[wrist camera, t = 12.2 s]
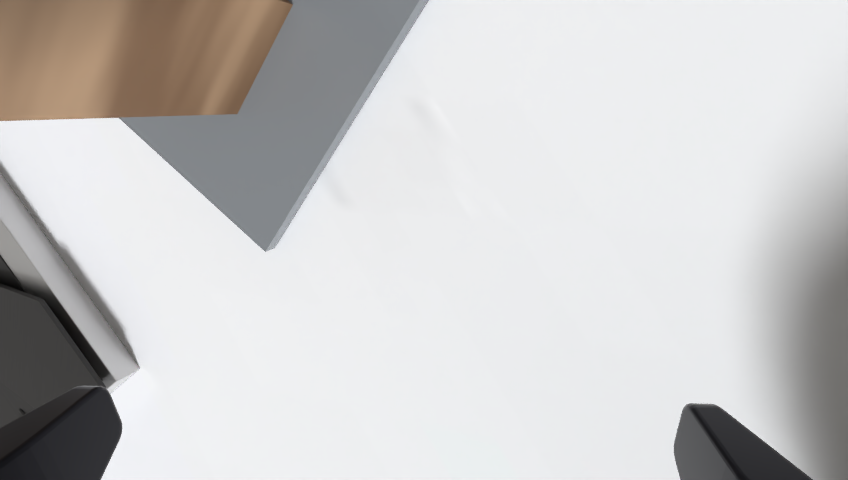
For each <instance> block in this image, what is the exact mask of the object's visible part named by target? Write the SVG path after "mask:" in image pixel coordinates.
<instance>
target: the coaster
mask: <svg viewBox="0 0 848 480" xmlns="http://www.w3.org/2000/svg"><path fill="white" fill-rule="evenodd" d="M288 1H289V2H290V3H292V4H293V6H292V8H291V10H290V12H289V13H288V15H287V17H286V19H285V21H284V23H283V25H282V27H281V29H280V31H279V33H278V35H277V37H276V39H275V41H274V43H273V45H272V47H271V49H270V51H269V53H268V55H267V57H266V59H265V61H264V63H263V65H262V67H261V69H260V71H259V73H258V75H257V76H256V78H255V80H254V82H253V84H252V86H251V88H250V90H249V92H248V94H247V96H246V98H245V100H244V102H243V104H242V106H241V108H240V110H239V112H238V114H225V115H190V116H155V117H119V118H120V119H121V120H122V121H123V122H124V123H125V124H126V125H127V126H128V127H129V128H131V129H132V130H133V131H134V132H135V133H136V134H137V135H138V136H139V137H140V138H141V139H143V140H144V141H145V142H146V143H147V144H148V145H149V146H150V147H151V148H152V149H154V150H155V151H156V152H157V153H158V154H159V155H160V156H161V157H162V158H163V159H164V160H166V161H167V162H168V163H169V164H170V165H171V166H172V167H173V168H174V169H175V170H176V171H178V172H179V173H180V174H181V175H182V176H183V177H184V178H185V179H186V180H187V181H188V182H190V183H191V184H192V185H193V186H194V187H195V188H196V189H197V190H198V191H199V192H201V193H202V194H203V195H204V196H205V197H206V198H207V199H208V200H209V201H210V202H211V203H213V204H214V205H215V206H216V207H217V208H218V209H219V210H220V211H221V212H222V213H223V214H225V215H226V216H227V217H228V218H229V219H230V220H231V221H232V222H233V223H234V224H236V225H237V226H238V227H239V228H240V229H241V230H242V231H243V232H244V233H245V234H246V235H248V236H249V237H250V238H251V239H252V240H253V241H254V242H255V243H256V244H257V245H258V246H260V247H261V248H262V249H263V250H264V251H265V252H266V251H268V250H271V249H273V248H275V246H276V245H277V243H278V242H279V240H280V238H281V237H282V235H283V234H284V232H285V230H286V229H287V227H288V226H289V224H290V222H291V221H292V219H293V217H294V216H295V214H296V213H297V211H298V209H299V208H300V206H301V205H302V203H303V201H304V200H305V198H306V197H307V195H308V193H309V192H310V190H311V189H312V187H313V185H314V184H315V182H316V180H317V179H318V177H319V176H320V174H321V172H322V171H323V169H324V168H325V166H326V164H327V163H328V161H329V160H330V158H331V156H332V155H333V153H334V151H335V150H336V148H337V147H338V145H339V143H340V142H341V140H342V139H343V137H344V135H345V134H346V132H347V131H348V129H349V127H350V126H351V124H352V123H353V121H354V119H355V118H356V116H357V114H358V113H359V111H360V110H361V108H362V106H363V105H364V103H365V102H366V100H367V98H368V97H369V95H370V94H371V92H372V90H373V89H374V87H375V85H376V84H377V82H378V81H379V79H380V77H381V76H382V74H383V73H384V71H385V69H386V68H387V66H388V65H389V63H390V61H391V60H392V58H393V57H394V55H395V53H396V52H397V50H398V48H399V47H400V45H401V44H402V42H403V40H404V39H405V37H406V36H407V34H408V32H409V31H410V29H411V28H412V26H413V24H414V23H415V21H416V19H417V18H418V16H419V15H420V13H421V11H422V10H423V8H424V7H425V5H426V3H427V2H428V0H288Z"/></svg>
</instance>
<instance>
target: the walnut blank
mask: <svg viewBox="0 0 848 480" xmlns="http://www.w3.org/2000/svg"><path fill="white" fill-rule="evenodd" d="M292 6H293V4H292V3H290V2H289V1H288V0H0V121H14V120H49V119H84V118H119V117H155V116H190V115H225V114H238V112H239V110H240V108H241V106H242V104H243V102H244V100H245V98H246V96H247V94H248V92H249V90H250V88H251V86H252V84H253V82H254V80H255V78H256V76H257V75H258V73H259V71H260V69H261V67H262V65H263V63H264V61H265V59H266V57H267V55H268V53H269V51H270V49H271V47H272V45H273V43H274V41H275V39H276V37H277V35H278V33H279V31H280V29H281V27H282V25H283V23H284V21H285V19H286V17H287V15H288V13H289V12H290V10H291V8H292Z"/></svg>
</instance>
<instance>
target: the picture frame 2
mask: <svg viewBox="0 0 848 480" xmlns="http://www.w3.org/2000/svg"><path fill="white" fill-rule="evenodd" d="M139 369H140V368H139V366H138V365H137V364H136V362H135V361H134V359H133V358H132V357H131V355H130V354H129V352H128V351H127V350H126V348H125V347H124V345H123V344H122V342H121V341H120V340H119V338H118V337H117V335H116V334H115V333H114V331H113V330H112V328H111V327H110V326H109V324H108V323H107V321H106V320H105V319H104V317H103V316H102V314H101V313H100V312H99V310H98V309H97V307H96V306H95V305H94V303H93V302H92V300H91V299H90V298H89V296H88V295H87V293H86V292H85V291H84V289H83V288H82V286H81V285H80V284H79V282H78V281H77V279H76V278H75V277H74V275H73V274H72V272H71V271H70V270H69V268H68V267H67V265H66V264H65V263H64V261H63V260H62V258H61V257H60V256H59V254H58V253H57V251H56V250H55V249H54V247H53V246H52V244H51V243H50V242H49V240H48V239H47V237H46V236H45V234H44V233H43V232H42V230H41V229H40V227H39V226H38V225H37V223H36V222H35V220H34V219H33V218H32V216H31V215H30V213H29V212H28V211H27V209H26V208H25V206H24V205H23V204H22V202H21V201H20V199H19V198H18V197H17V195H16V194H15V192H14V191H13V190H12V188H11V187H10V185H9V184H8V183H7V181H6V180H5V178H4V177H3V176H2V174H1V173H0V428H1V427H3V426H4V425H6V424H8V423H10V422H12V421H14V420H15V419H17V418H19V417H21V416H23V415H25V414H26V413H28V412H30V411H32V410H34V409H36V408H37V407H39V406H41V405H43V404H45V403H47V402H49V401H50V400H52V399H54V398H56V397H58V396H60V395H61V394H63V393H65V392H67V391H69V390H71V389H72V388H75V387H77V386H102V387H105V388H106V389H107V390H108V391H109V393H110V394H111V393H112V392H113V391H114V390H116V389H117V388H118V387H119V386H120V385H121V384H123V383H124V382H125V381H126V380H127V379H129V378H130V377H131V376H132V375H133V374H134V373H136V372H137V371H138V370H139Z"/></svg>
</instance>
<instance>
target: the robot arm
mask: <svg viewBox="0 0 848 480" xmlns="http://www.w3.org/2000/svg"><path fill="white" fill-rule="evenodd" d="M121 433H122V422H121V419H120V417H119V414H118V412H117V409H116V407H115V405H114V402H113V400H112V397H111V395H110V393H109V391H108V390H107V389H106V388H105V387H102V386H77V387H75V388H72V389H71V390H69V391H67V392H65V393H63V394H61V395H60V396H58V397H56V398H54V399H52V400H50V401H49V402H47V403H45V404H43V405H41V406H39V407H37V408H36V409H34V410H32V411H30V412H28V413H26V414H25V415H23V416H21V417H19V418H17V419H15V420H14V421H12V422H10V423H8V424H6V425H4V426H3V427H1V428H0V480H101V478H102V476H103V474H104V472H105V469H106V467H107V465H108V463H109V461H110V459H111V457H112V454H113V452H114V450H115V448H116V446H117V444H118V442H119V439H120V437H121ZM674 455H675V461H676V465H677V468H678V472H679V476H680V480H813V479H811V478H810V477H809V476H807V475H806V474H805V473H804V472H802V471H801V470H800V469H798V468H797V467H796V466H795V465H793V464H792V463H791V462H790V461H788V460H787V459H786V458H784V457H783V456H782V455H781V454H779V453H778V452H777V451H775V450H774V449H773V448H772V447H770V446H769V445H768V444H767V443H765V442H764V441H763V440H761V439H760V438H759V437H758V436H756V435H755V434H754V433H752V432H751V431H750V430H749V429H747V428H746V427H745V426H743V425H742V424H741V423H740V422H738V421H737V420H736V419H735V418H733V417H732V416H731V415H729V414H728V413H727V412H726V411H724V410H723V409H722V408H720V407H719V406H717V405H714V404H694V403H690V404H687V405H686V406H685V407H684V408H683V411H682V414H681V418H680V422H679V426H678V430H677V434H676V438H675V442H674Z"/></svg>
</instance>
